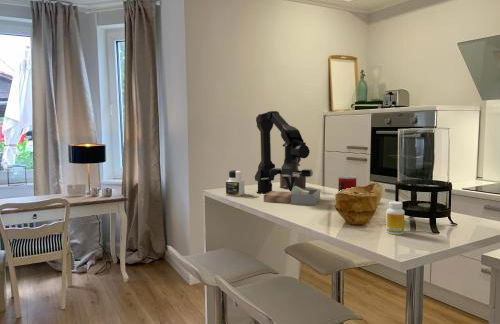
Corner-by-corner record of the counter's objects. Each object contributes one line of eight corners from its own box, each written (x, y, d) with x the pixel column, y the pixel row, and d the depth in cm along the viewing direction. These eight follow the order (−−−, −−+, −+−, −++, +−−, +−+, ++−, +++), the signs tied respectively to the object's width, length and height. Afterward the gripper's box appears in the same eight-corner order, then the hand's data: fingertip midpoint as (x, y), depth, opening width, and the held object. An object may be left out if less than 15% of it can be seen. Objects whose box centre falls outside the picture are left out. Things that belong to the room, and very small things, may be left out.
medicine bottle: (225, 195, 192) (225, 171, 191) (231, 193, 198) (231, 169, 197) (239, 196, 189) (238, 171, 188) (244, 193, 196) (244, 170, 195)
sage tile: (290, 192, 175) (293, 186, 174) (292, 191, 178) (295, 185, 178) (298, 196, 174) (301, 190, 173) (300, 195, 177) (303, 189, 177)
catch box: (291, 204, 169) (291, 193, 169) (298, 198, 183) (298, 188, 183) (314, 205, 166) (314, 195, 166) (320, 199, 180) (320, 189, 180)
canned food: (359, 200, 178) (359, 176, 177) (350, 202, 172) (350, 178, 171) (343, 198, 183) (344, 174, 182) (335, 200, 177) (335, 176, 176)
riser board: (263, 201, 175) (263, 195, 175) (271, 197, 186) (271, 190, 186) (292, 203, 171) (292, 196, 170) (298, 198, 182) (298, 192, 182)
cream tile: (300, 191, 173) (307, 192, 172) (302, 190, 177) (309, 191, 176) (300, 200, 174) (306, 201, 173) (302, 198, 177) (308, 199, 176)
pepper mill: (278, 187, 215) (278, 155, 213) (294, 186, 220) (294, 154, 219) (296, 191, 201) (296, 157, 200) (312, 189, 207) (312, 156, 206)
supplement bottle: (406, 235, 121) (407, 204, 120) (388, 234, 121) (388, 204, 121) (401, 230, 126) (402, 201, 125) (384, 230, 127) (385, 200, 126)
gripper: (265, 157, 171) (265, 192, 172) (307, 158, 164) (307, 195, 166) (273, 156, 181) (273, 189, 183) (313, 156, 175) (312, 191, 176)
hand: (290, 191), depth 176 cm, fingers closed
